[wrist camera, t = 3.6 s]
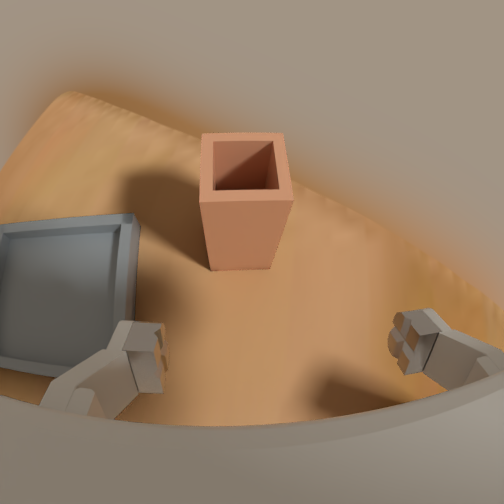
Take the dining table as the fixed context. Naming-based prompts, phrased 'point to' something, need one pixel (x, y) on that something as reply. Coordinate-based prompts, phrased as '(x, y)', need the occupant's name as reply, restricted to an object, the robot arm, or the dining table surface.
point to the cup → (244, 198)
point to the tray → (64, 289)
